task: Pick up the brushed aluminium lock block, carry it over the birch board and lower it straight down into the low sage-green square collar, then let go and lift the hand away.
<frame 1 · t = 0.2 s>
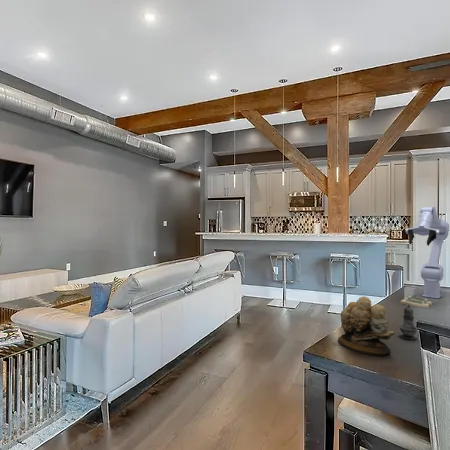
hand: (418, 243, 160), 31 cm above the table, tool tilted 45°, fingers open, 7 cm apart
lock block: (410, 299, 175), on the table
owl figurine: (364, 347, 108), on the table
grey chess piece: (408, 338, 117), on the table
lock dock: (416, 303, 165), on the table
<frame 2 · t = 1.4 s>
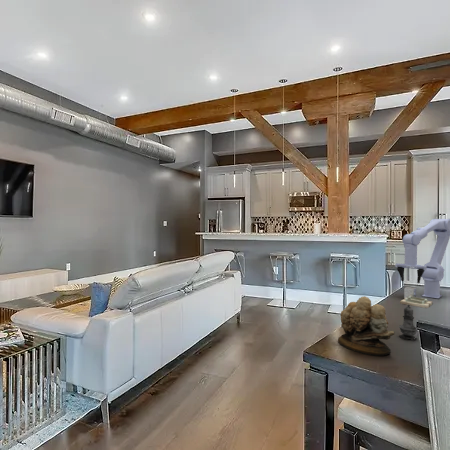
hand: (410, 282, 174), 9 cm above the table, tool pointing down, fingers open, 7 cm apart
nothing on the table moved.
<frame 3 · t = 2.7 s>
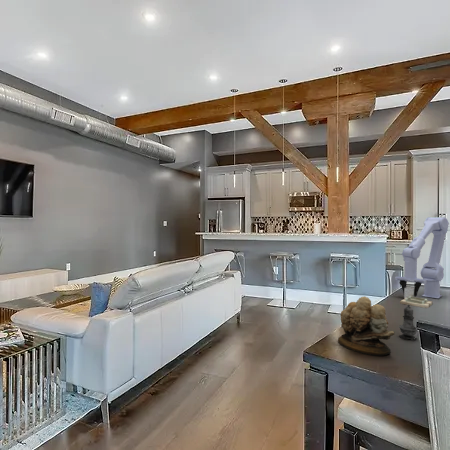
hand: (410, 295, 174), 2 cm above the table, tool pointing down, fingers closed on lock block, 4 cm apart
lock block: (410, 298, 175), on the table, touching gripper
everything else where it was.
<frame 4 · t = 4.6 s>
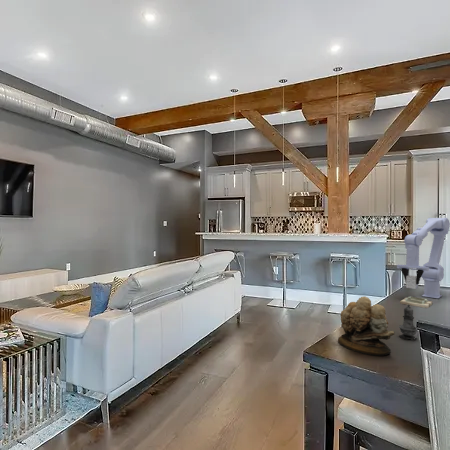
hand: (412, 283, 171), 9 cm above the table, tool pointing down, fingers closed on lock block, 4 cm apart
lock block: (412, 287, 171), point 7 cm above the table, touching gripper
everything else where it was.
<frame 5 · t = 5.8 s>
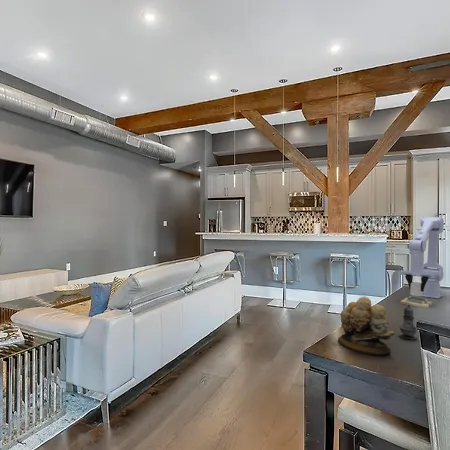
hand: (416, 290, 164), 7 cm above the table, tool pointing down, fingers closed on lock block, 4 cm apart
lock block: (416, 294, 164), point 5 cm above the table, touching gripper
everything else where it was.
when the fingers open (4 cm above the table, at t = 6.8 s): lock block stays where it is, resting on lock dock.
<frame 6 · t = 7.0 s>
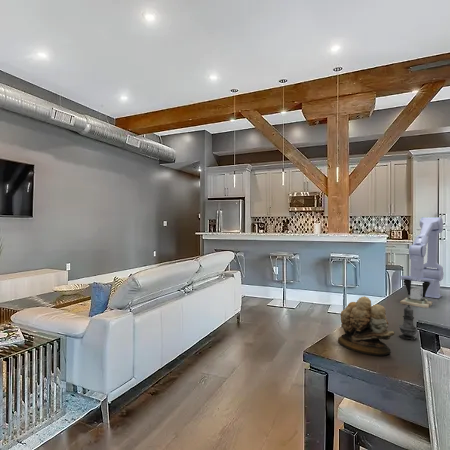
hand: (416, 295, 164), 4 cm above the table, tool pointing down, fingers open, 6 cm apart
lock block: (416, 301, 164), point 1 cm above the table, touching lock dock
everything else where it was.
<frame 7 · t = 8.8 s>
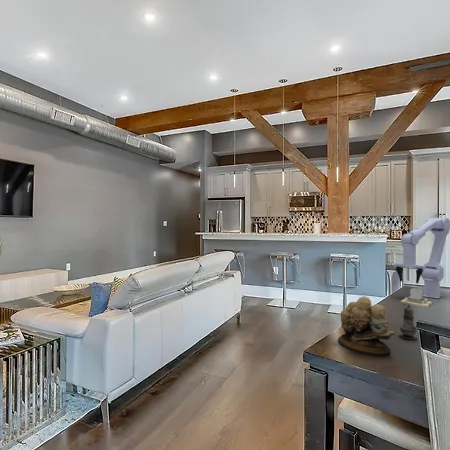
hand: (409, 282, 173), 9 cm above the table, tool pointing down, fingers open, 7 cm apart
nothing on the table moved.
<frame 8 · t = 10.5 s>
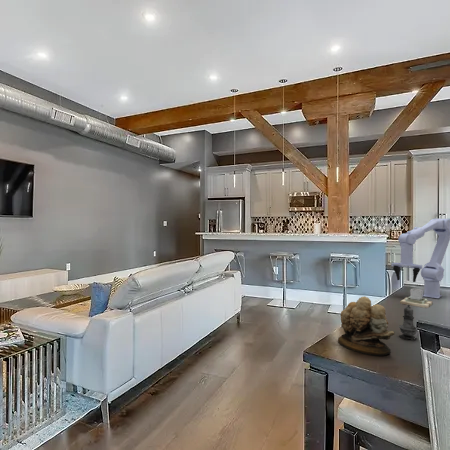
hand: (406, 280, 176), 9 cm above the table, tool pointing down, fingers open, 7 cm apart
nothing on the table moved.
at the end: lock block 0.0 cm off-centre on the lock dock, point 1.2 cm above the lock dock's base; lock block tilted 0°; the gripper is holding nothing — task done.
